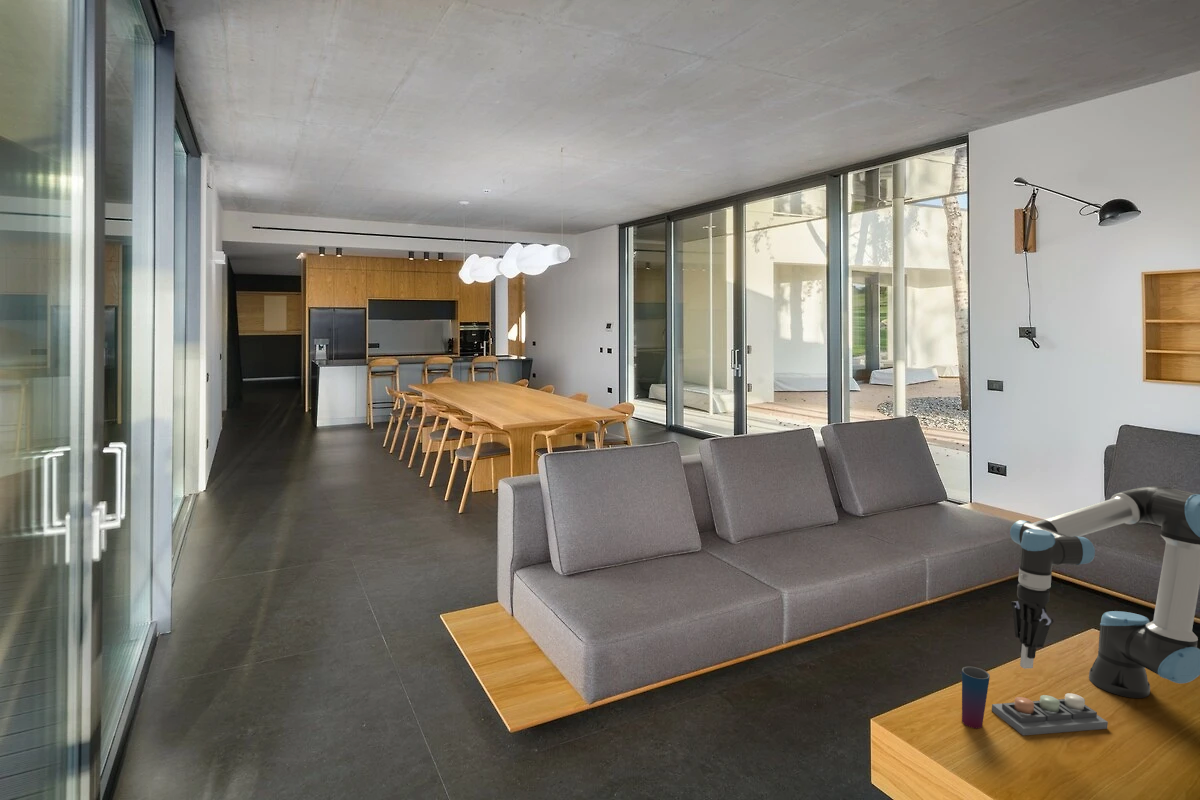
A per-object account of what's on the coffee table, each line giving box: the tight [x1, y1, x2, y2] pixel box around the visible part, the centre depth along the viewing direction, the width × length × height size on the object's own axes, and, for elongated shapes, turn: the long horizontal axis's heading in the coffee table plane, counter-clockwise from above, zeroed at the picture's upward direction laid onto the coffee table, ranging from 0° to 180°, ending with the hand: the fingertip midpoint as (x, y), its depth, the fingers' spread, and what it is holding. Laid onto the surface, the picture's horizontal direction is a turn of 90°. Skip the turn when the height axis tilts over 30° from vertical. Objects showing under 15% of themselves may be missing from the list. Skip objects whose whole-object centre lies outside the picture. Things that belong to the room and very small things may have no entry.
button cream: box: [1064, 692, 1086, 710], centre depth 191 cm, size 5×5×2 cm
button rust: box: [1014, 696, 1034, 714], centre depth 189 cm, size 5×5×2 cm
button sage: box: [1039, 694, 1060, 712], centre depth 190 cm, size 5×5×2 cm
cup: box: [961, 666, 991, 729], centre depth 188 cm, size 7×7×15 cm
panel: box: [991, 698, 1109, 736], centre depth 191 cm, size 26×12×4 cm, turn 98°
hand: (1026, 666), depth 188 cm, fingers closed
